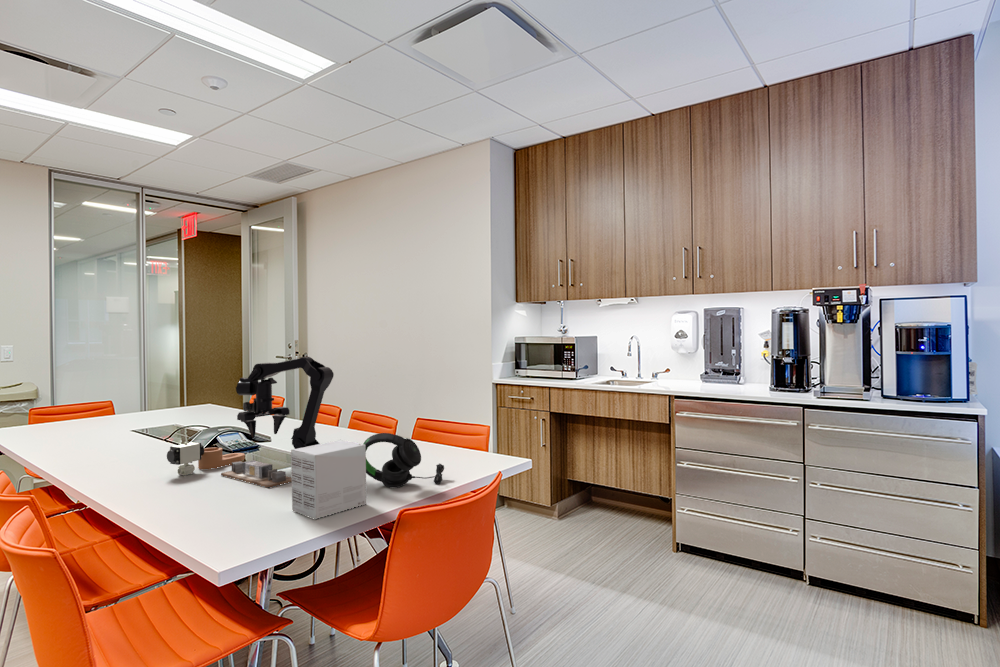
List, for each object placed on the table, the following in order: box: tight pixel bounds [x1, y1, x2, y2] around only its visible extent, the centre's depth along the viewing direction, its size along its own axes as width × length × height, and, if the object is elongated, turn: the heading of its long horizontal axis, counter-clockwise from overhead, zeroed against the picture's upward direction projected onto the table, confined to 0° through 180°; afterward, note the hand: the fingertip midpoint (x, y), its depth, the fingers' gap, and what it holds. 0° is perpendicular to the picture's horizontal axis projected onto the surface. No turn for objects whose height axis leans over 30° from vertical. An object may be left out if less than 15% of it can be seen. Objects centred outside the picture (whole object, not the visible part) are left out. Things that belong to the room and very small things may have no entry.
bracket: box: [197, 446, 246, 470], centre depth 216 cm, size 18×8×7 cm, turn 151°
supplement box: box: [290, 439, 367, 520], centre depth 159 cm, size 17×13×18 cm
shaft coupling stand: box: [220, 461, 292, 488], centre depth 193 cm, size 30×10×4 cm, turn 55°
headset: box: [362, 432, 445, 488], centre depth 183 cm, size 18×14×29 cm
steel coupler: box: [242, 459, 273, 479], centre depth 193 cm, size 12×4×4 cm, turn 55°
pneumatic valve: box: [166, 441, 205, 476], centre depth 200 cm, size 6×12×12 cm, turn 155°
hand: (264, 435), depth 210 cm, fingers open, 9 cm apart
